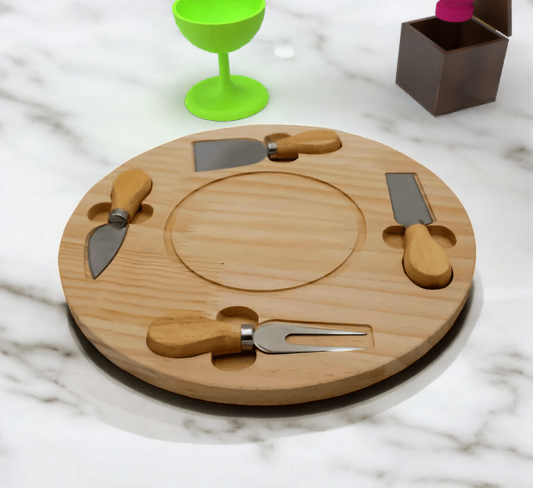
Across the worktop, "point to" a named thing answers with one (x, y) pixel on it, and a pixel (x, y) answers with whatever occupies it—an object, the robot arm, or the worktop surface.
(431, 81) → the chest
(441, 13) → the pepper mill
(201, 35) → the wineglass
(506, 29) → the lid
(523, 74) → the worktop surface
